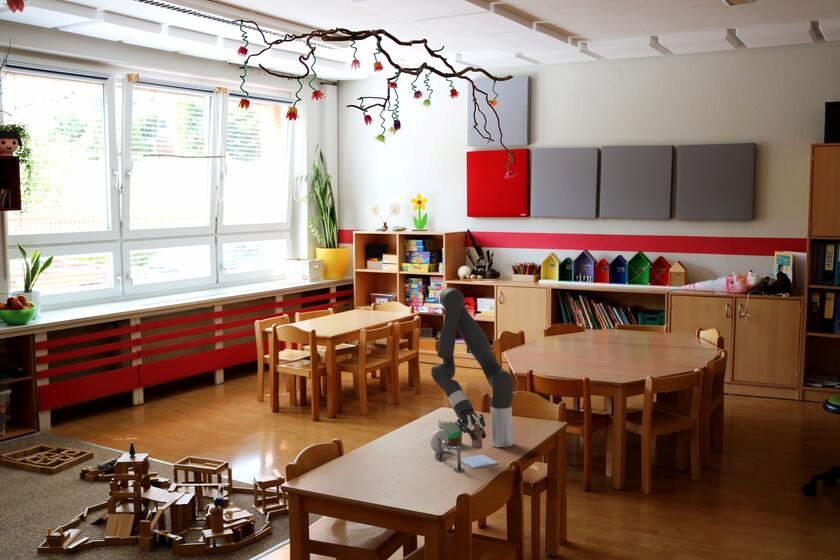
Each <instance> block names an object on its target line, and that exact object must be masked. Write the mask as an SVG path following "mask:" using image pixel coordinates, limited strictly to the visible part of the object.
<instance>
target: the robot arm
mask: <svg viewBox="0 0 840 560" xmlns="http://www.w3.org/2000/svg"><path fill="white" fill-rule="evenodd" d="M439 302H440V304H441V306H442V307H443V308H444V317H443V318H444V319H443V324H442V328H441V331H440V334H439V337H438V341H437V344H438V345H437V351H436V356H437V357H438V358H439V359H442V363H436V364H434V365H432V367H431V369H430V374H431V376H432V377H431V378H432V380H433V382H435V383H436V384H437V385H438V386H439V388H441V390H443V391H444V395H446V398H447V399H448V401H449V403H450V406H451V408H452V410H453V411H454V413H455V415H456V417H457V420H456V421H454V422H455V424H456V425H457V426H458V427H459V428H460V429H461V430H462V434H468V435H469V437H470V439H471V441H472V440H473V441H476V440H477V436H476V434H475V433H474V431H472V430H473V427H474V424H480V430H482V440H484V439H486V438H487V433H486V432H485V430H484V429H485V427H486V421H485V418H484V415H483V413H479V414H477V413H476V412H475V409H474V406H473V405H472V403H471V401H470V399H469V398H468V396H467V394H466V393H465V392H464V390H463V388H462V387H461V385H460V383H459V382H458V381H457V380H454V379H453V378H454V376H455V375H456V374H455V373H456V364H455V356H454V355H455V353H454V352H455V347H456V346H455V345H456V338H457V337H456V336H457V331H458V332H459V335H460V336H461V337H462V340H463V341H464V343H465V345H466V347H467V348H468V349H469V351H470V353H471V355H472V356H473V357H474V359H475V360H476V361H477V363H478V364H479V366H480V367H481V369H482V371H483V374H484V375H485V378H486V381H487V383H488V385H490V387H491V388H492V398H491V399H490V406H489V407H490V408H489V409H490V410H489V411H490V445H491V447H494V446H495V447H494V448H499V447H505V448H509V446H510V447H512V446H514V445H515V423H514V422H513V417H512V416H513V414H512V413H513V409H512V404H513V403H512V402H513V399H514V381H513V380H514V379H513V376H512V375H511V373H509V372H508V371H506V370H505V369H504V368H503V367H502V366H501V365H500V364H499V362H498V360H497V359H496V357H495V356H494V353H493V348H492V347H491V344H490V341H489V339H488V337H487V335H486V333H485V332H484V331H483V329H482V327H481V326H480V324H478V322H477V321H476V320H475V319H474V318H473V316H472V315H471V314H470V313H469V311H468V310H467V307H466V306H465V304H464V302H465V297H464V294H463V292H462V291H460V290H459V289H456V288H454V287H446V288H444V289H443V290H442V291H441V292H440V295H439Z"/></svg>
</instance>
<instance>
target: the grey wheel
mask: <svg viewBox="0 0 840 560" xmlns="http://www.w3.org/2000/svg"><path fill="white" fill-rule="evenodd" d="M438 437H441V438H442V439H443V440H444V441H445V442H446V443H447V444H448V435H447V433H446V431H445V430H442V429H439V428H438V429H437V430H435V431H434V432H433V434H432V435H431V438H430V447H431V449H432V451H433V452H434V453H437V454H439V443H438ZM441 447H442V452H444V451H445V449H447V448H446V446H445V445H444V444H443V443H442V442H441Z"/></svg>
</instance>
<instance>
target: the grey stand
mask: <svg viewBox="0 0 840 560" xmlns="http://www.w3.org/2000/svg"><path fill="white" fill-rule="evenodd" d="M441 442H442V443H443V444H444V445H445V446H446V448H445V449H447V450H448V451H450V450H451V451H456V452H457V453H456V455H457V467H455V468H453V471H455V472H456V473H461V472H462V471H463V472H465V468H463V467H462V463H461V459H462V458H461V456H462V455H461V450H462V449H461V448H462V447H461V446H458V445H457V446H449V445H448V444H447V443H446V442H445V441H444V440H443V439H442V438H441V437H438V444H439V453H438V456H436V457H435V460H436V461H438V462H443V461H446V457H444V456H443V451H442V447H441ZM442 460H443V461H442Z"/></svg>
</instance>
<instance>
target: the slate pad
mask: <svg viewBox="0 0 840 560" xmlns="http://www.w3.org/2000/svg"><path fill="white" fill-rule="evenodd" d="M461 464H463V465H465V466H467V467H469V469H472V470H474V469H480V468H484V467H485V468H486V467H490V466H495V465H499V462H498V461H496V460H494V459H492V458H490V457H489V456H486V455H484V454H479V455H475V456H468V457H463V458H461Z"/></svg>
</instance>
